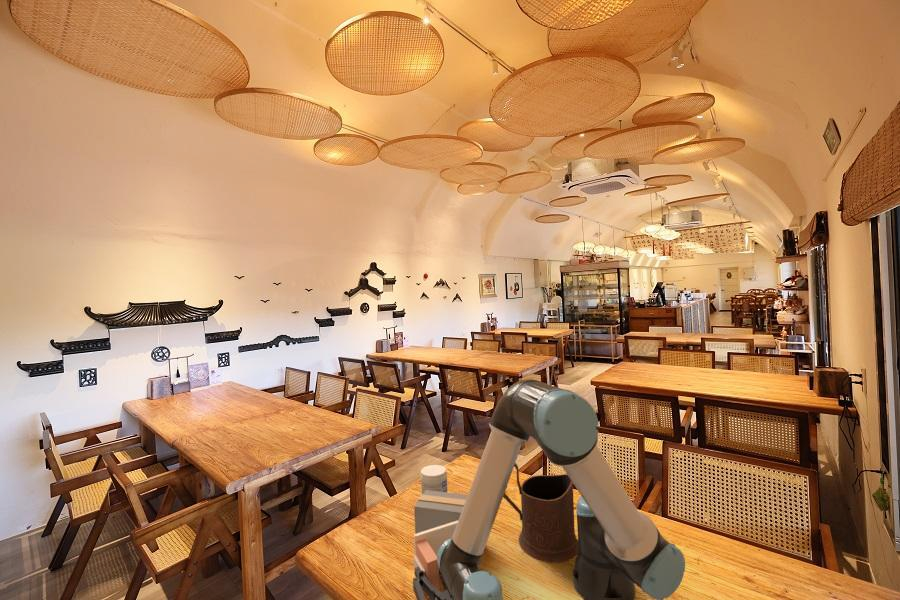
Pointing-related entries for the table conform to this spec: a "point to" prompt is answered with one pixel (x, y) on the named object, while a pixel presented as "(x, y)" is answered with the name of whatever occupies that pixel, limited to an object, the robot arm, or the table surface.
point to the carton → (437, 509)
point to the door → (432, 549)
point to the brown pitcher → (547, 518)
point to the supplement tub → (434, 478)
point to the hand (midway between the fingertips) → (421, 558)
